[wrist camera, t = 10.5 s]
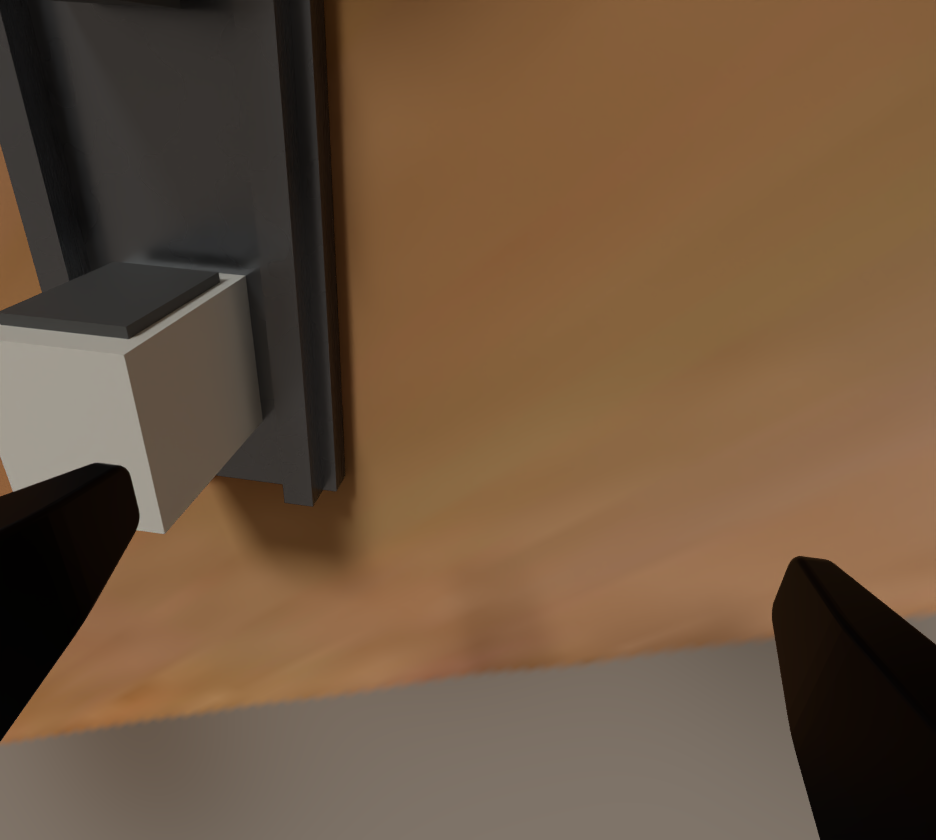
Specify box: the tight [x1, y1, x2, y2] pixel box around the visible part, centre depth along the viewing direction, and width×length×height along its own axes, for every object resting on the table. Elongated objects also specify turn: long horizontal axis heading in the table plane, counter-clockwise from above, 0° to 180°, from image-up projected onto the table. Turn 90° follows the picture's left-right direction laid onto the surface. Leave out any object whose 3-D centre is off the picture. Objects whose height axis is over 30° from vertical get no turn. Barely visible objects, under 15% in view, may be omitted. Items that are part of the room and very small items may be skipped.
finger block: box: [0, 262, 263, 534], centre depth 18 cm, size 5×4×6 cm
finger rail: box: [0, 0, 345, 507], centre depth 18 cm, size 9×22×2 cm, turn 177°
